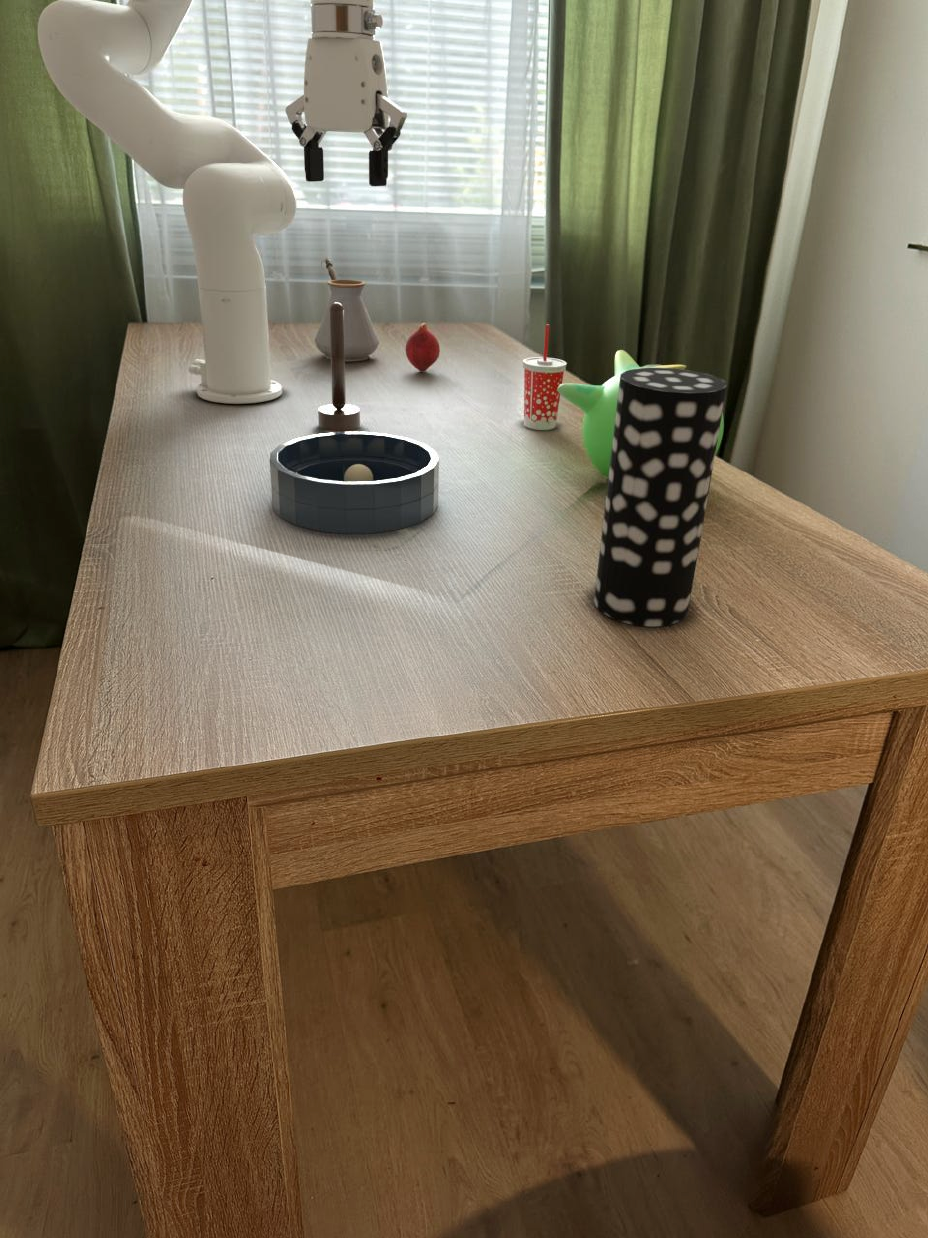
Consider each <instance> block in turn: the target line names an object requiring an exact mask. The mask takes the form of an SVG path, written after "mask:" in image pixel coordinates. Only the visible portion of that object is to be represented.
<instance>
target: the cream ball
mask: <svg viewBox="0 0 928 1238" xmlns="http://www.w3.org/2000/svg"><path fill="white" fill-rule="evenodd" d="M344 482H373V474H372V472H371V470H370V469H369V468H368V467H366V466H364V465H361V464H356V465H353V466H351V467H349V468H348V469H347V471H346V473H345V476H344Z"/></svg>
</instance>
